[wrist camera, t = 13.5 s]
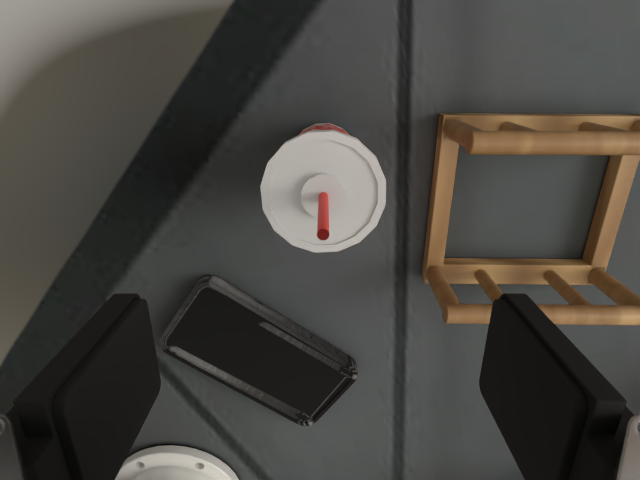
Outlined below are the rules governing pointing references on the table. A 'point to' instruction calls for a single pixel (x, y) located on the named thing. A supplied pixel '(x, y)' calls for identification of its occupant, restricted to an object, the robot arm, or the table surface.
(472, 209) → the table surface
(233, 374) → the phone
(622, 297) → the cup rack
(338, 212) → the beverage cup
